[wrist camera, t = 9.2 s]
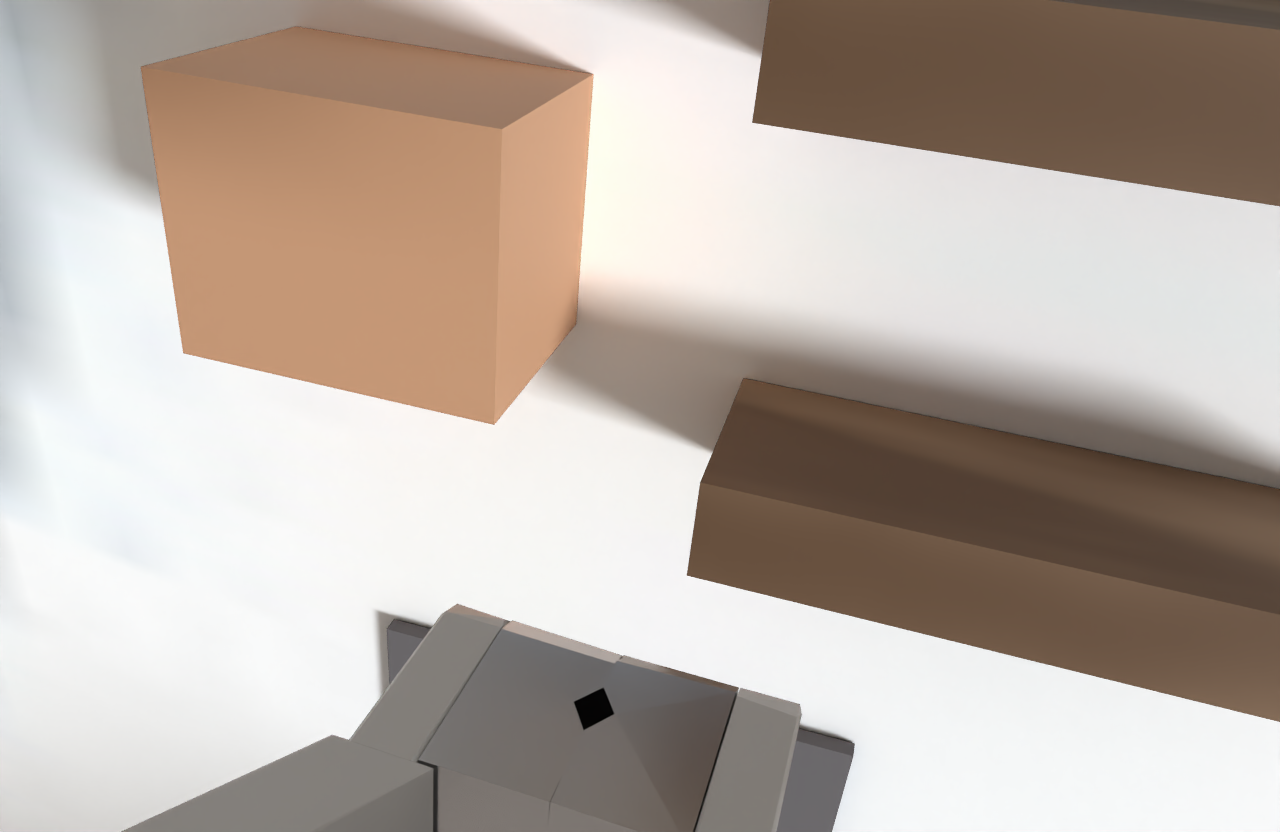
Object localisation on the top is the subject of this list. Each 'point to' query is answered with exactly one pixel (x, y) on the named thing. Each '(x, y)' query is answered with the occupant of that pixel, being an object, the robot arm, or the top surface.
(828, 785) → the charcoal mat
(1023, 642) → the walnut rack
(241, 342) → the terracotta block
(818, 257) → the top surface
